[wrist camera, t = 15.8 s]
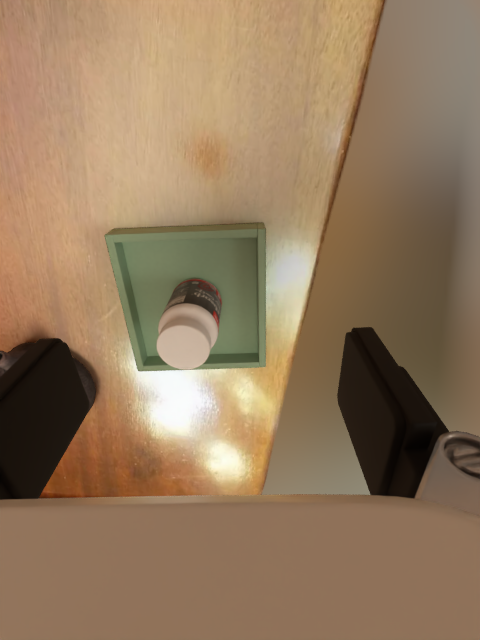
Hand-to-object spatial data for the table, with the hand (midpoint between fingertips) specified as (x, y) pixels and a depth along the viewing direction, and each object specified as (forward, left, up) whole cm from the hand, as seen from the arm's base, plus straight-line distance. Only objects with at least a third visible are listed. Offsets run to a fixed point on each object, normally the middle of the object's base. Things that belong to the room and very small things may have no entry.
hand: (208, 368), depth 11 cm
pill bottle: (+4, +9, -24) cm, 26 cm away
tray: (+4, +9, -25) cm, 26 cm away
